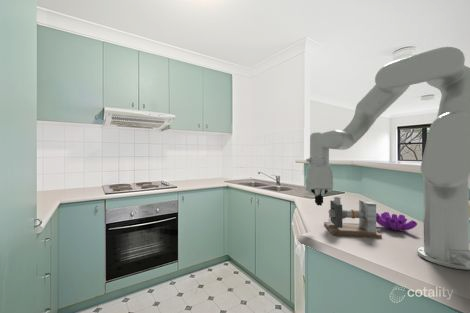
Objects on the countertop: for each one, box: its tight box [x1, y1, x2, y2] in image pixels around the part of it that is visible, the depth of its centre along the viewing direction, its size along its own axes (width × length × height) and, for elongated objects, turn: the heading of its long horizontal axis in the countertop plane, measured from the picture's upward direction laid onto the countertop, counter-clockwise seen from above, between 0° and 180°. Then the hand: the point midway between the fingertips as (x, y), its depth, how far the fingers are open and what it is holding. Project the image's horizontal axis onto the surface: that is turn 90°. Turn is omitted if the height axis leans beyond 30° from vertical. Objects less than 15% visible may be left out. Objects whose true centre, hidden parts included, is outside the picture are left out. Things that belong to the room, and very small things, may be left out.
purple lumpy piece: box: [376, 211, 418, 231], centre depth 90 cm, size 11×15×10 cm
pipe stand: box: [323, 199, 383, 239], centre depth 87 cm, size 14×17×12 cm
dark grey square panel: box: [330, 200, 343, 228], centre depth 88 cm, size 9×2×9 cm, turn 171°
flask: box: [333, 196, 344, 219], centre depth 109 cm, size 7×7×10 cm
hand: (318, 204), depth 89 cm, fingers closed
